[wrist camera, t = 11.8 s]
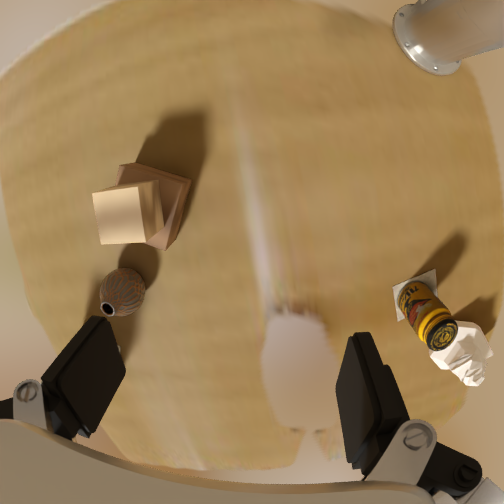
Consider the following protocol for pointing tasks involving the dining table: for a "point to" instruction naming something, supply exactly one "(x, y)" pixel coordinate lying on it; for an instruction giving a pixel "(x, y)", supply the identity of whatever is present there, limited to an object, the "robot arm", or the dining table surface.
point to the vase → (121, 292)
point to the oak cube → (128, 212)
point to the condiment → (425, 311)
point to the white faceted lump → (465, 354)
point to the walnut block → (171, 198)
